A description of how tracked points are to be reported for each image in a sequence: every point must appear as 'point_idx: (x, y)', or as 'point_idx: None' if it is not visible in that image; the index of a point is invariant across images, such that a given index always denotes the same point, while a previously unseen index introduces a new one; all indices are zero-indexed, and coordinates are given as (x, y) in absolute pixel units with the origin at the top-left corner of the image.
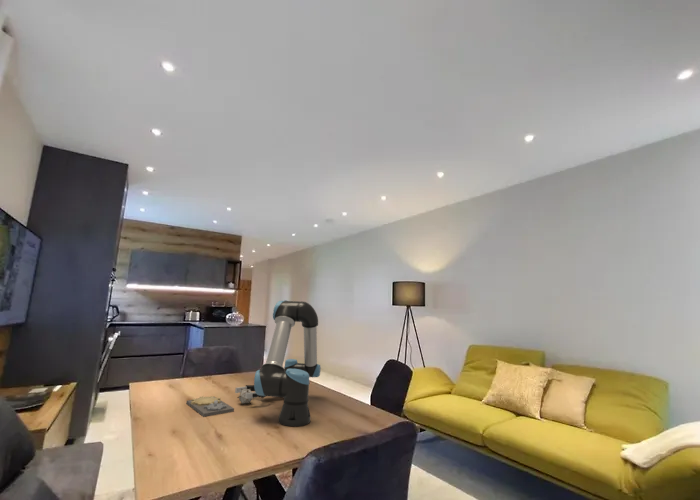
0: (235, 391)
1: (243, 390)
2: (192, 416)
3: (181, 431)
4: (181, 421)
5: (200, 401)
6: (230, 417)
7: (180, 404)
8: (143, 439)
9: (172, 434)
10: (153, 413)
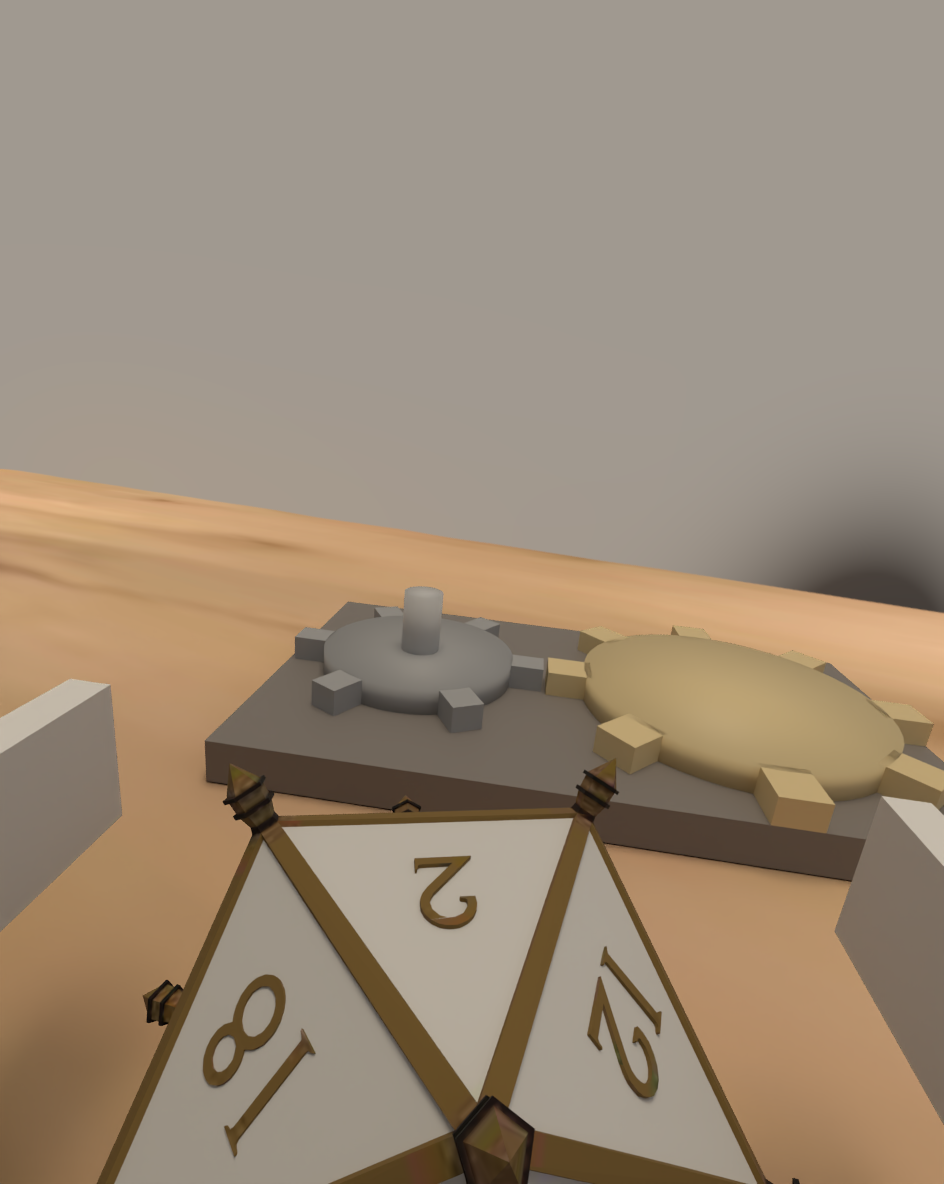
0: (871, 896)
1: (493, 814)
2: None
3: (241, 549)
4: (381, 579)
5: (678, 652)
6: None
7: None
8: (303, 519)
9: (248, 537)
10: (624, 583)
